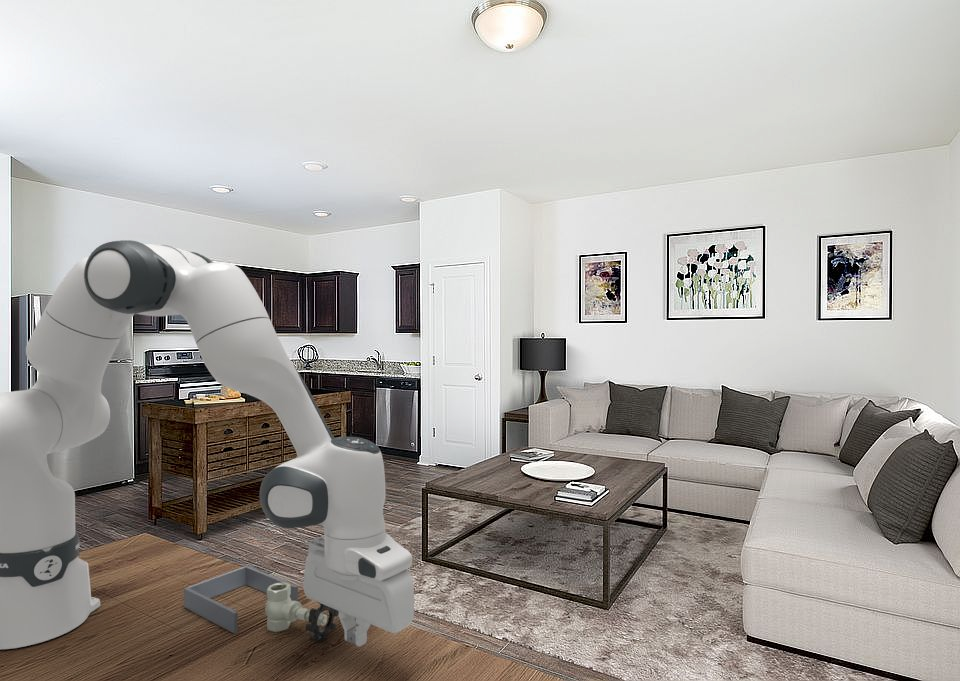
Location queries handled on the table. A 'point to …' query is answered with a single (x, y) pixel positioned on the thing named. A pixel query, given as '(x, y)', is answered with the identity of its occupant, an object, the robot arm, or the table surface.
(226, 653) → the table surface
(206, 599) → the valve dock
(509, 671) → the table surface
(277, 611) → the valve
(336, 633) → the table surface
